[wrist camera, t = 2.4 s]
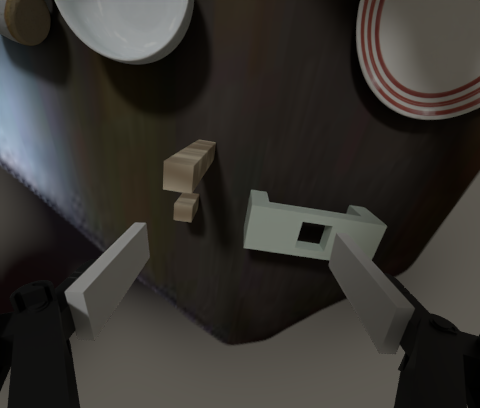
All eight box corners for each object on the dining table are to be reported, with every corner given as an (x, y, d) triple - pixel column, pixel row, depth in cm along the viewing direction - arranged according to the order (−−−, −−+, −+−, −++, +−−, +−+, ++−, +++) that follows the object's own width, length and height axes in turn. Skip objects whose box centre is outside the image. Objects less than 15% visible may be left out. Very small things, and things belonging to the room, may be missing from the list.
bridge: (251, 189, 42) (252, 205, 36) (364, 207, 43) (387, 225, 36) (244, 226, 46) (243, 247, 39) (350, 242, 46) (368, 266, 39)
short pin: (183, 191, 43) (174, 203, 37) (199, 194, 43) (192, 206, 38) (182, 206, 44) (173, 219, 39) (198, 208, 44) (191, 222, 39)
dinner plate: (460, 143, 39) (479, 146, 36) (315, 82, 36) (322, 79, 33) (611, -66, 29) (655, -88, 26) (427, -176, 26) (451, -215, 23)
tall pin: (198, 139, 39) (163, 161, 23) (215, 142, 39) (193, 165, 23) (197, 156, 40) (163, 189, 24) (213, 159, 41) (191, 193, 24)
